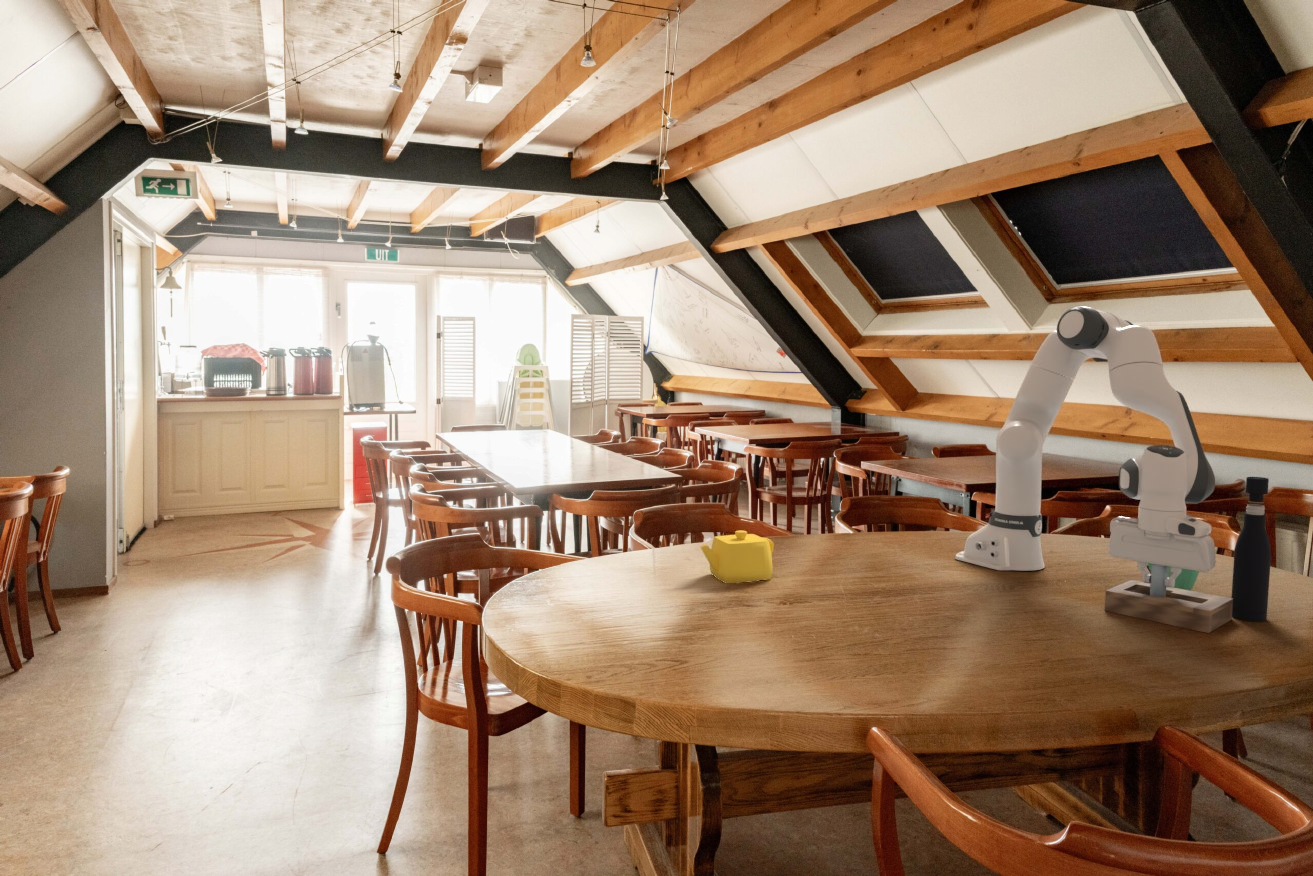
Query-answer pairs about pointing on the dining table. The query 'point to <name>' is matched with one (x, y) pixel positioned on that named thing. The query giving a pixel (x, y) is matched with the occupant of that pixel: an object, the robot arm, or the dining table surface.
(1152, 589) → the peg
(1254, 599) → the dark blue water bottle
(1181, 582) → the mug
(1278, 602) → the dining table surface
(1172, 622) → the keyhole board
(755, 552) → the teapot
